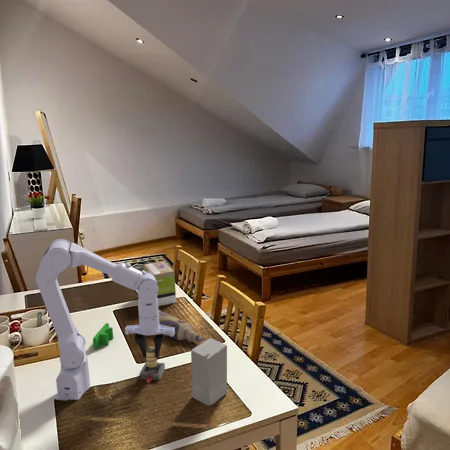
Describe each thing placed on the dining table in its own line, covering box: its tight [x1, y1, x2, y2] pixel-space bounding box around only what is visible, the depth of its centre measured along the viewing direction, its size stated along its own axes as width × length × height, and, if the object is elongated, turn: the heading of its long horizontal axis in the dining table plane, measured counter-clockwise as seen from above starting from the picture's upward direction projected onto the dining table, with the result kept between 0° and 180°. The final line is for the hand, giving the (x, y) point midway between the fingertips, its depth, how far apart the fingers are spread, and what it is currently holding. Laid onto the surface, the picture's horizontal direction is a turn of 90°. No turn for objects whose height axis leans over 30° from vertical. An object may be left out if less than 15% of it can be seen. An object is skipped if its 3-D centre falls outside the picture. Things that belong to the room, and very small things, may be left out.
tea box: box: [143, 260, 177, 307], centre depth 182 cm, size 15×10×15 cm
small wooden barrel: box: [145, 345, 158, 368], centre depth 126 cm, size 3×3×5 cm
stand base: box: [139, 362, 166, 384], centre depth 127 cm, size 10×10×3 cm
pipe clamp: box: [92, 322, 114, 351], centre depth 148 cm, size 11×4×5 cm, turn 173°
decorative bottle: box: [158, 309, 203, 343], centre depth 151 cm, size 26×8×7 cm, turn 47°
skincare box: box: [190, 337, 228, 407], centre depth 115 cm, size 8×7×16 cm
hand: (151, 355), depth 126 cm, fingers closed on small wooden barrel, 3 cm apart
